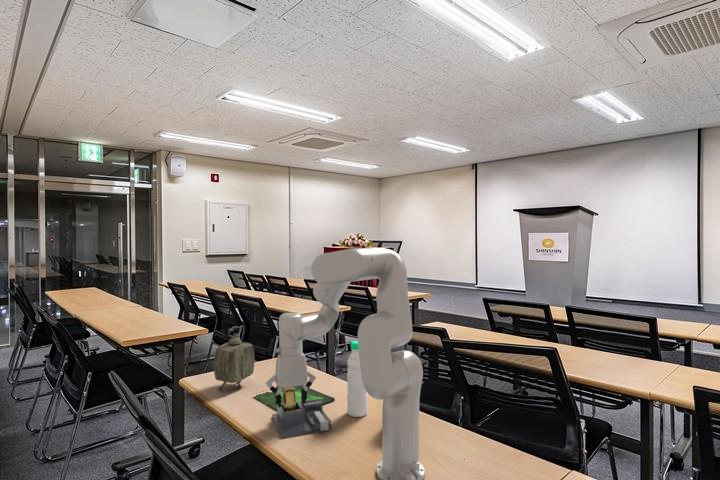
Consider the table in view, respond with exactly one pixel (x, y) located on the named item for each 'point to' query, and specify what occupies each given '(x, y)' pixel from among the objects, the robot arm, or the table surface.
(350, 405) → the water bottle
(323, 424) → the lock pin
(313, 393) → the mouse mat
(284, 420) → the dock
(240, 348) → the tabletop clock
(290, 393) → the peg
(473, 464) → the table surface
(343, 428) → the table surface
